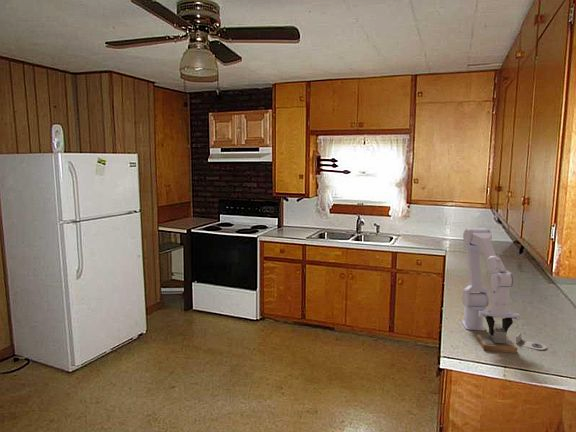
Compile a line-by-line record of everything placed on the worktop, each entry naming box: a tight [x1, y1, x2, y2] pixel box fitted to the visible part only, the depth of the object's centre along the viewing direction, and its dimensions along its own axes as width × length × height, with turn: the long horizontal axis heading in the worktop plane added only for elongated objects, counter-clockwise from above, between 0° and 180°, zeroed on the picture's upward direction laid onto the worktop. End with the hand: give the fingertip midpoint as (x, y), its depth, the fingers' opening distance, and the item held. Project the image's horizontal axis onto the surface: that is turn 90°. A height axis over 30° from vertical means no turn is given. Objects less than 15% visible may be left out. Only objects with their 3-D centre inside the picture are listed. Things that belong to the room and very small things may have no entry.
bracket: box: [515, 331, 547, 351], centre depth 164 cm, size 7×10×4 cm, turn 47°
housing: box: [488, 323, 508, 344], centre depth 163 cm, size 8×4×5 cm, turn 170°
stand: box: [476, 333, 519, 354], centre depth 163 cm, size 10×12×2 cm
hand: (497, 334), depth 163 cm, fingers closed on housing, 4 cm apart
